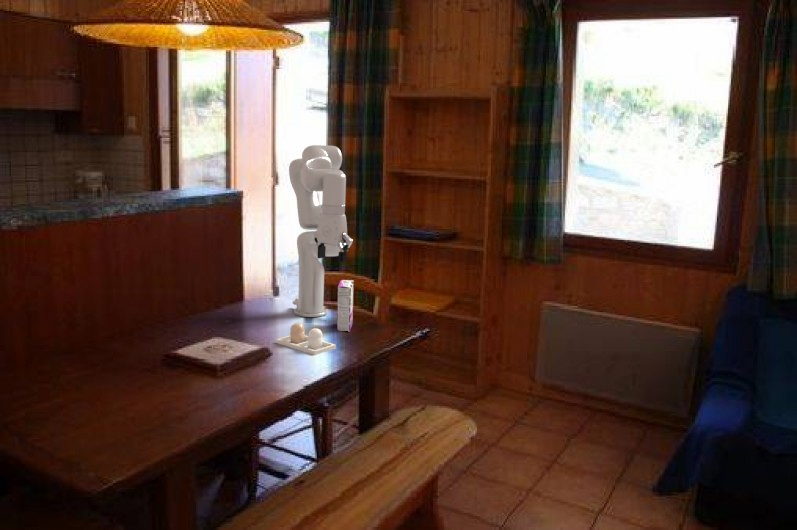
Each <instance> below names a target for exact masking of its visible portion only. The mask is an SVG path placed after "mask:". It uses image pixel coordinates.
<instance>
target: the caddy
mask: <svg viewBox="0 0 797 530" xmlns="http://www.w3.org/2000/svg"><path fill="white" fill-rule="evenodd" d="M275 343H276V344H278V345H282V346H285V347H289V348H291V349H295V350H298V351H300V352H304V353H307V354H310V355H314V356H317V355H320V354H322V353H325V352H329V351H333V350H336V349H337V345H336V344H335V343H332V342H328V341H325V340H322V348H321V349H317V350H313V349H309V348H308V335H305V342H303V343H299V344H293V343H290V335H287V336H283V337H280V338H276V342H275Z"/></svg>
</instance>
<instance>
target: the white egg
mask: <svg viewBox="0 0 797 530" xmlns="http://www.w3.org/2000/svg"><path fill="white" fill-rule="evenodd" d="M307 336H308V346H307V348H309V349H313V350H317V349H321V348H323V345H322V341H323V336H324V335H323V332H322V330H321V329H319V328H317V327H315V328H312V329H310V330H309V332H308V335H307Z"/></svg>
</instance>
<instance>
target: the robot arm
mask: <svg viewBox="0 0 797 530" xmlns="http://www.w3.org/2000/svg"><path fill="white" fill-rule="evenodd" d="M342 163H343V154H342V152H341V150H340V148H339V147H338V146H336V145H321V144H320V145H318V144H316V145H314V144H313V145H308V146H306V147H304V149H303V151H302V154H301V158H295V159H293V160H291V162H290V163H289V166H288V175H289V181H290V184H291V186H292V187H291V188H292V189H293V191H294V195H295V198H296V206H297V217H298V223H299V226H300V228H302V229H303V230H307V231H305V232H302V233H300V234H298V236H297V239H296V245H297V247H296V248H297V254H298V255H297V256H298V298H295V299H294V300H293V301H292V305H294V306H296V307H295V308H294V310H293V311H294V315H296V316H300V317H305V318H319V317H323V316H326V315H327V314H328V309H327V308H325V307H324V293H325V292H324V289H325V286H324V285H325V267H324V265H323V264H322V262H321V261H320V260H319V259H323V258H325V257H338V264H341V265H342V264H345V263H347V255H348V254H347V252H348V251H349V249H350V248H351V247H352V244H353V242H354V241H353V238H351V237H350V236H349V235H348V225H347V224H348V222H347V216H346V214H345V213H346V193H347V192H346V189H347V186H346V185H347V178H346V177H347V176H346V174H345V173H344V172H343V171H342V170H341V169H340V168H341V167H342ZM318 192H322V199H321V201H322V203H320V196H319V193H318Z"/></svg>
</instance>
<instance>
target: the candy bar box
mask: <svg viewBox="0 0 797 530" xmlns="http://www.w3.org/2000/svg"><path fill="white" fill-rule="evenodd" d="M336 309H337V311H336V312H337V313H336V314H337V316H336V317H337V318H336V331H339V332H342V331H348V332H347V333H350V332H351V329H352V326H353V323H354V321H353V320H354V319H353V315H354V313H353V311H354V280H352V279H351V280H350V279H341V280H340V282H339V283H338V286H337V308H336Z"/></svg>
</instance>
